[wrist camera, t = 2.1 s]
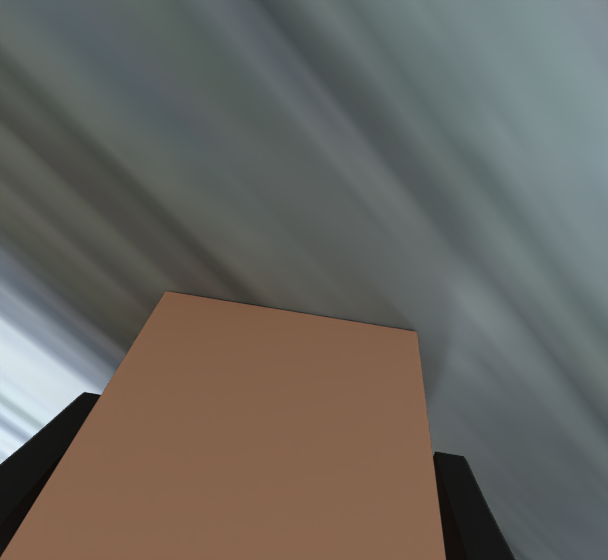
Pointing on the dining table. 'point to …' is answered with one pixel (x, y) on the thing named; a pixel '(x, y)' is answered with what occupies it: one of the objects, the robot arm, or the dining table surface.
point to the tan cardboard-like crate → (247, 446)
